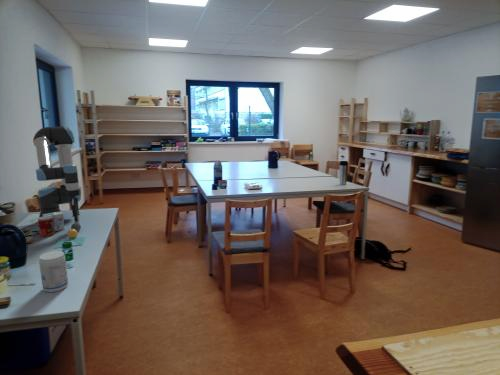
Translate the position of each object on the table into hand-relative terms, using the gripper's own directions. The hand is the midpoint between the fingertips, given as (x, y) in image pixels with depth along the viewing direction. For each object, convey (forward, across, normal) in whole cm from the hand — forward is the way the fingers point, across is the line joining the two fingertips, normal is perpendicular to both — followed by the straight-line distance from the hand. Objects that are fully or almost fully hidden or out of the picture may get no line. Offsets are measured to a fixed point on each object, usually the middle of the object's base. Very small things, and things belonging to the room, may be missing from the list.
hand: (77, 225), depth 227 cm
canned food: (+3, +4, -16) cm, 17 cm away
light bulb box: (+3, -5, -14) cm, 16 cm away
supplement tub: (+5, +82, +3) cm, 82 cm away
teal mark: (+3, +24, -1) cm, 24 cm away
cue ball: (0, +4, 0) cm, 4 cm away
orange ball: (0, +16, 0) cm, 16 cm away
